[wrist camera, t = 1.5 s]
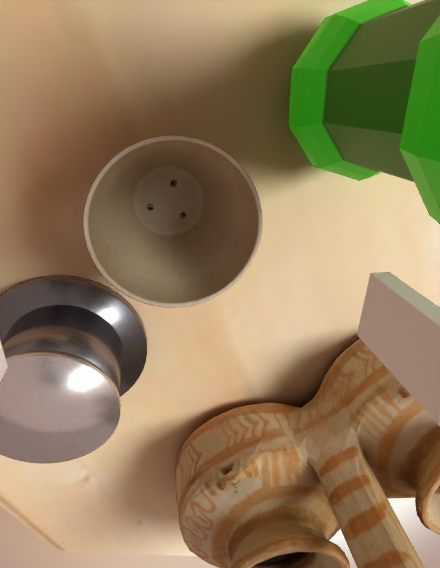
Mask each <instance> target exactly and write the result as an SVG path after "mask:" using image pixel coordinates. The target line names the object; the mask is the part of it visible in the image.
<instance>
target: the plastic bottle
mask: <svg viewBox="0 0 440 568" xmlns="http://www.w3.org/2000/svg"><path fill="white" fill-rule="evenodd" d="M288 126H289V128H290V129H291V131H292V133H293V134H294V136H295V138H296V139H297V141H298V143H299V144H300V146H301V148H302V149H303V151H304V153H305V155H306V156H307V158H308V160H309V161H310V163H311V165H313V166H315V167H318V168H320V169H324V170H327V171H330V172H333V173H336V174H340V175H343V176H346V177H349V178H352V179H356V180H359V181H360V180H363V179H366V178H369V177H372V176H374V175H377V174H379V173H382V172H384V173H387V174H390V175H393V176H396V177H400V178H403V179H406V180H409V181H412V182H415V184H416V186H417V188H418V191H419V193H420V195H421V197H422V200H423V202H424V204H425V206H426V208H427V211H428V213H429V215H430V216H431V217H433V218H434V219H435V220H436V221H437V222H438V223H439V224H440V0H425V1H422V2H419V3H416V4H413V5H412V4H410V3H408V2H406V1H404V0H368V1H366V2H363V3H361V4H358V5H356V6H353V7H351V8H348V9H346V10H343V11H341V12H338V13H335V14H333V15H331V16H329V17H326V18H325V19H324V20H323V22H322V23H321V25H320V26H319V28H318V30H317V31H316V33H315V34H314V36H313V37H312V39H311V40H310V42H309V43H308V45H307V46H306V48H305V49H304V51H303V52H302V54H301V56H300V57H299V59H298V60H297V62H296V63H295V65H294V66H293V68H292V71H291V88H290V105H289V122H288Z"/></svg>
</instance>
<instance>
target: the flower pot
mask: <svg viewBox="0 0 440 568" xmlns="http://www.w3.org/2000/svg"><path fill="white" fill-rule="evenodd" d="M172 181H173V185H171V182H172ZM150 207H152V208H153V209H152V210H149V208H150ZM182 212H183V213H185V214H186V215H183V214H182ZM83 230H84V237H85V242H86V245H87V248H88V251H89V254H90V256H91V258H92V260H93V262H94V264H95V266H96V267H97V269H98V270H99V272H100V273H101V274H102V275H103V276H104V278H105V279H106V280H107V281H108V282H109V283H110V284H111V285H112V286H114V287H115V288H116V289H117V290H119V291H120V292H122V293H123V294H125V295H127V296H128V297H130V298H132V299H135V300H137V301H139V302H142V303H145V304H149V305H153V306H158V307H167V308H175V307H187V306H192V305H196V304H200V303H203V302H205V301H208V300H210V299H213V298H215V297H216V296H218V295H220V294H221V293H223V292H224V291H226V290H227V289H229V288H230V287H231V286H232V285H233V284H235V283H236V282H237V281H238V280H239V278H241V276H242V275H243V274H244V273H245V271H246V270H247V268H248V267H249V266H250V264H251V262H252V260H253V258H254V256H255V254H256V252H257V249H258V246H259V243H260V239H261V233H262V210H261V204H260V200H259V196H258V194H257V191H256V188H255V186H254V184H253V182H252V180H251V178H250V177H249V175H248V174H247V172H246V171H245V170H244V168H243V167H242V166H241V165H240V164H239V163H238V162H237V161H236V160H235V159H234V158H233V157H232V156H230V155H229V154H228V153H226V152H225V151H223V150H222V149H220V148H219V147H217V146H215V145H213V144H211V143H208V142H206V141H203V140H200V139H197V138H193V137H187V136H159V137H154V138H150V139H146V140H143V141H140V142H138V143H135V144H133V145H131V146H129V147H128V148H126V149H124V150H123V151H121V152H120V153H118V154H117V155H116V156H114V157H113V158H112V159H111V160H110V161H109V162H108V163H107V164H106V165H105V166H104V167H103V169H102V170H101V171H100V172H99V174H98V175H97V177H96V178H95V180H94V182H93V184H92V186H91V188H90V190H89V193H88V196H87V199H86V202H85V207H84V216H83Z"/></svg>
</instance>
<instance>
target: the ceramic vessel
mask: <svg viewBox="0 0 440 568" xmlns="http://www.w3.org/2000/svg"><path fill="white" fill-rule="evenodd" d="M175 477H176V496H177V503H178V509H179V524H180V529H181V533H182V536H183V539H184V542H185V543H186V545H187V546H188V548H189V550H190V551H191V552H193V553H194V554H195V555H197V556H198V557H200V558H201V559H202V560H204V561H206V562H208V563H209V564H212V565H214V566H216V567H219V568H350V565H349V561H348V559H347V557H346V555H345V553H344V552H343V551H342V550H341V548H340V547H338V545H336V544H334V543H332V542H331V541H329V540H330V539H331V538H332V537H333V536H334V534H336V532H337V531H338V530H339V529H340V528H341V531H342V533H343V535H344V538H345V540H346V542H347V545H348V547H349V549H350V551H351V554H352V556H353V558H354V560H355V563H356V565H357V567H358V568H424V566H423V564H422V562H421V560H420V558H419V557H418V555H417V553H416V551H415V549H414V547H413V546H412V544H411V542H410V540H409V538H408V536H407V535H406V533H405V531H404V529H403V527H402V526H401V524H400V522H399V520H398V518H397V516H396V514H395V513H394V511H393V509H392V507H391V505H390V503H389V501H388V499H387V498H416V500H415V502H416V511H417V515H418V517H419V519H420V520H421V523H423V525H424V526H425V527H426V528H428V529H430V530H432V531H434V532H436V533H437V534H440V427H439V425H438V424H437V423H436V422H435V421H434V420H433V419H432V418H431V417H430V415H429V414H428V413H427V412H426V411H425V410H424V409H423V408H422V407H421V405H420V404H419V403H418V402H417V401H416V400H415V399H414V398H413V397H412V395H411V394H410V393H409V392H408V391H407V390H406V389H405V388H404V387H403V385H402V384H401V383H400V382H399V381H398V380H397V379H396V378H395V377H394V375H393V374H392V373H391V372H390V371H389V370H388V369H387V368H386V367H385V366H384V364H383V363H382V362H381V361H380V360H379V359H378V358H377V357H376V356H375V354H374V353H373V352H372V351H371V350H370V349H369V348H368V347H367V346H366V344H365V343H364V342H363V341H362V340H361V339H359V340H358V341H356V342H355V343H353V344H352V345H351V346H350V347H348V348H347V349H346V350H345V351H344V352H343V353H341V354H340V355H339V356H338V357H337V359H336V360H335V361H334V363H333V364H332V366H331V367H330V369H329V370H328V372H327V373H326V375H325V376H324V378H323V381H322V384H321V386H320V389H319V390H318V392H317V394H316V395H315V397H314V398H313V399H312V400H311V401H310V402H308V403H307V404H305V405H304V406H303V407H301V408H298V407H294V406H289V405H285V404H278V403H262V404H253V405H246V406H242V407H238V408H234V409H232V410H229V411H227V412H224V413H222V414H220V415H218V416H216V417H214V418H212V419H211V420H209V421H207V422H206V423H204V424H203V425H201V426H200V427H199V428H197V429H196V430H195V431H194V432H193V433H192V434H191V435H190V436H189V437H188V439H187V440H186V441H185V443H184V444H183V446H182V448H181V449H180V452H179V455H178V459H177V462H176V469H175Z"/></svg>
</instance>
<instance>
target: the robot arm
mask: <svg viewBox="0 0 440 568" xmlns="http://www.w3.org/2000/svg"><path fill="white" fill-rule="evenodd" d="M357 336H358V337H359V338H360V339H361V340H362V341H363V342H364V343H365V344H366V346H367V347H368V348H369V349H370V350H371V351H372V352H373V353H374V354H375V356H376V357H377V358H378V359H379V360H380V361H381V362H382V363H383V364H384V366H385V367H386V368H387V369H388V370H389V371H390V372H391V373H392V374H393V375H394V377H395V378H396V379H397V380H398V381H399V382H400V383H401V384H402V385H403V387H404V388H405V389H406V390H407V391H408V392H409V393H410V394H411V395H412V397H413V398H414V399H415V400H416V401H417V402H418V403H419V404H420V405H421V407H422V408H423V409H424V410H425V411H426V412H427V413H428V414H429V415H430V417H431V418H432V419H433V420H434V421H435V422H436V423H437V424H438V425H439V427H440V307H438V306H437V305H435V304H434V303H433V302H431V301H430V300H428V299H427V298H425V297H424V296H423V295H421V294H420V293H418V292H417V291H415V290H414V289H413V288H411V287H410V286H408V285H407V284H405V283H404V282H403V281H401V280H400V279H398V278H397V277H396V276H394V275H393V274H391V273H390V272H381V273H370V277H369V282H368V287H367V291H366V296H365V301H364V305H363V310H362V314H361V319H360V324H359V328H358V333H357ZM7 368H8V365H7V362H6V358H5V355H4V351H3V348H2V345H1V341H0V381H1V379H2V378H3V376H4V374H5V372H6V370H7Z"/></svg>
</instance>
